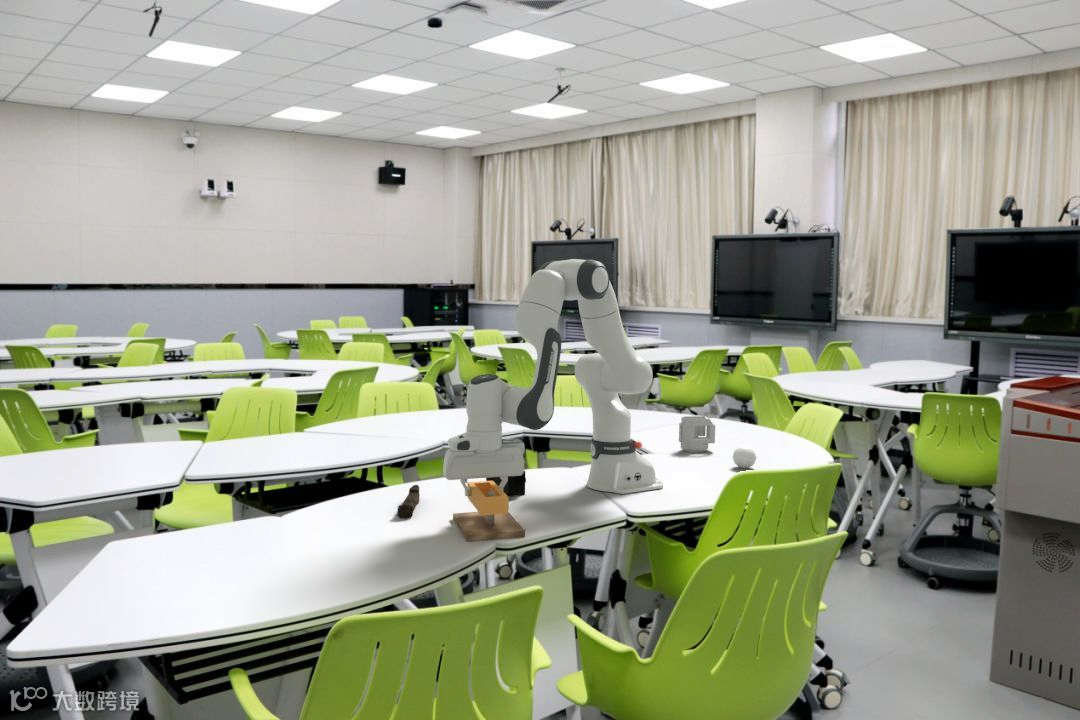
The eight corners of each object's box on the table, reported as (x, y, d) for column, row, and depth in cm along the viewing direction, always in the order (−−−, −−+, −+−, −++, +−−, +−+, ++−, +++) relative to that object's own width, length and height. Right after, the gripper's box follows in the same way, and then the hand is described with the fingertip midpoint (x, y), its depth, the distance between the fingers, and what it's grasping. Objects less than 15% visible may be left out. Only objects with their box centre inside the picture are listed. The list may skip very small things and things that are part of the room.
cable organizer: (715, 452, 289) (716, 418, 288) (681, 453, 287) (682, 419, 286) (709, 448, 296) (710, 415, 294) (675, 449, 294) (676, 416, 293)
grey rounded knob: (756, 471, 262) (757, 448, 261) (732, 470, 263) (733, 447, 262) (754, 464, 271) (755, 442, 271) (731, 463, 273) (732, 441, 272)
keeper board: (506, 515, 212) (506, 477, 211) (525, 536, 195) (525, 495, 194) (452, 519, 208) (452, 480, 207) (467, 541, 191) (467, 499, 190)
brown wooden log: (412, 520, 209) (412, 502, 208) (397, 519, 209) (397, 501, 208) (427, 499, 227) (427, 483, 227) (412, 499, 228) (412, 482, 227)
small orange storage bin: (492, 495, 210) (492, 480, 210) (508, 513, 195) (508, 496, 195) (467, 497, 208) (467, 482, 208) (481, 515, 193) (481, 498, 193)
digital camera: (492, 499, 227) (492, 475, 226) (485, 494, 232) (485, 470, 231) (526, 496, 231) (527, 471, 230) (519, 491, 236) (520, 467, 235)
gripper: (521, 435, 209) (520, 488, 211) (441, 439, 203) (441, 494, 205) (527, 440, 203) (527, 495, 205) (446, 444, 197) (446, 500, 199)
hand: (484, 494), depth 205 cm, fingers closed on small orange storage bin, 7 cm apart
